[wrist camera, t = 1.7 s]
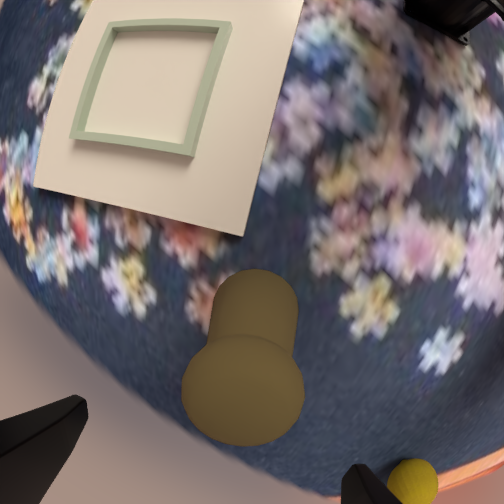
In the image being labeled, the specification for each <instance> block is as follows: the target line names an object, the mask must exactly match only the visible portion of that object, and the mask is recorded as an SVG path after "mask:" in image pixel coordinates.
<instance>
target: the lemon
mask: <svg viewBox="0 0 504 504" xmlns="http://www.w3.org/2000/svg"><path fill="white" fill-rule="evenodd" d="M387 488H388V489H389V490H390V491H391V492H392V493H393V494H394V495H395V496H396V497H397V498H398V499H399V500H400V501H401V502H402V503H403V504H430V503H431V502H432V501H433V500H434V498H435V496H436V494H437V492H438V478H437V474H436V472H435V470H434V468H433V467H432V466H431V465H430V464H429V463H428V462H427V461H425V460H422V459H415V458H414V459H409V460H406V459H404V460H402V461H401V462H400V464H399V465H397V466H396V467H395V468H394V469H393V471H392V472H391V474H390V476H389V478H388V482H387Z"/></svg>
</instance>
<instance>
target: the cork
mask: <svg viewBox="0 0 504 504" xmlns="http://www.w3.org/2000/svg"><path fill="white" fill-rule="evenodd" d="M298 312H299V309H298V301H297V297H296V295H295V293H294V291H293V289H292V287H291V286H290V285H289V284H288V283H287V282H286V281H285V280H284V279H283V278H282V277H280V276H278V275H276V274H274V273H272V272H270V271H267V270H260V269H250V270H243V271H240V272H238V273H236V274H234V275H232V276H230V277H228V278H227V279H226V280H225V281H224V282H223V283H222V284H221V285H220V286H219V288H218V290H217V293H216V295H215V297H214V301H213V307H212V313H211V319H210V326H209V332H208V338H207V345H206V346H205V347H203V348H202V349H201V350H200V351H199V352H198V353H197V354H196V355H195V356H193V357H192V359H191V361H190V363H189V365H188V367H187V369H186V371H185V373H184V375H183V377H182V397H181V400H182V403H183V405H184V408H185V410H186V413H187V415H188V417H189V419H190V420H191V422H192V423H193V424H194V425H195V426H196V427H197V428H198V430H200V431H201V432H202V433H204V434H205V435H207V436H209V437H210V438H212V439H214V440H217V441H219V442H222V443H225V444H229V445H236V446H258V445H261V444H265V443H268V442H272V441H274V440H275V439H277V438H279V437H281V436H282V435H284V434H285V433H286V432H287V431H288V430H289V429H290V428H291V427H292V425H293V424H294V423H295V422H296V421H297V419H298V418H299V415H300V412H301V409H302V406H303V403H304V399H305V392H304V384H303V378H302V373H301V372H300V370H299V368H298V366H297V365H296V363H295V361H294V360H293V358H292V355H293V348H294V341H295V334H296V327H297V319H298Z"/></svg>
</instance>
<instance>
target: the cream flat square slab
mask: <svg viewBox="0 0 504 504" xmlns="http://www.w3.org/2000/svg"><path fill="white" fill-rule="evenodd" d="M303 4H304V0H93V2H92V3H91V5H90V7H89V9H88V11H87V13H86V15H85V17H84V19H83V21H82V23H81V25H80V27H79V29H78V32H77V34H76V36H75V38H74V41H73V43H72V45H71V48H70V50H69V52H68V55H67V57H66V60H65V63H64V65H63V68H62V71H61V73H60V76H59V79H58V82H57V85H56V88H55V91H54V94H53V98H52V101H51V104H50V108H49V111H48V115H47V119H46V123H45V127H44V131H43V135H42V140H41V144H40V149H39V154H38V159H37V165H36V171H35V177H34V184H33V186H34V187H38V188H43V189H47V190H51V191H56V192H60V193H65V194H69V195H73V196H78V197H82V198H86V199H90V200H95V201H99V202H103V203H107V204H112V205H116V206H120V207H124V208H128V209H133V210H137V211H141V212H145V213H149V214H153V215H157V216H161V217H166V218H170V219H174V220H178V221H182V222H186V223H190V224H194V225H198V226H202V227H206V228H210V229H214V230H218V231H222V232H226V233H230V234H234V235H238V236H242V237H243V236H244V233H245V229H246V225H247V221H248V217H249V213H250V209H251V205H252V201H253V197H254V193H255V189H256V185H257V181H258V177H259V173H260V169H261V165H262V161H263V157H264V153H265V149H266V145H267V141H268V137H269V133H270V129H271V126H272V122H273V118H274V114H275V110H276V106H277V102H278V98H279V95H280V91H281V87H282V83H283V79H284V75H285V72H286V68H287V64H288V60H289V57H290V53H291V49H292V45H293V42H294V38H295V34H296V30H297V27H298V23H299V19H300V16H301V12H302V8H303Z"/></svg>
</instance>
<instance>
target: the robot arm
mask: <svg viewBox="0 0 504 504" xmlns="http://www.w3.org/2000/svg"><path fill="white" fill-rule="evenodd" d="M403 10H404V12H405V13H406V14H407V15H409V16H411V17H413V18H415V19H417V20H419V21H421V22H423V23H425V24H427V25H429V26H431V27H433V28H435V29H437V30H439V31H441V32H442V33H444V34H446V35H448V36H449V37H451V38H453V39H455V40H456V41H458V42H460V43H461V44H463V45H465V46H467V45H468V44H470V35H469V31H470V30H471V29H472V28H474V27H475V26H476V25H478V24H479V23H481V22H482V21H483V20H485V19H486V18H488V17H489V16H490V15H492V14H493V13H495V12H496V13H497V14H498V15H499V16H500V17H501V18H502V20H503V21H504V0H404V6H403ZM409 10H410V11H411V12H410V11H409ZM87 420H88V409H87V402H86V400H85V399H84V398H82V397H80V396H78V395H72V396H69V397H67V398H64V399H61V400H59V401H56V402H53V403H50V404H48V405H45V406H42V407H39V408H36V409H34V410H31V411H28V412H25V413H22V414H19V415H16V416H13V417H10V418H7V419H4V420H1V421H0V504H39V503H40V502H41V500H42V498H43V497H44V495H45V494H46V492H47V490H48V489H49V487H50V485H51V484H52V482H53V481H54V479H55V478H56V476H57V475H58V473H59V471H60V470H61V468H62V467H63V465H64V463H65V462H66V461H67V459H68V458H69V456H70V454H71V453H72V451H73V449H74V447H75V445H76V443H77V441H78V439H79V436H80V434H81V432H82V430H83V428H84V426H85V424H86V422H87ZM341 504H403V503H402V502H401V501H400V500H399V499H398V498H397V497H396V496H395V495H394V494H393V493H392V492H391V491H390V490H389V489H388V488H387V487H386V486H385V485H384V484H383V483H382V482H381V481H380V479H379V478H378V477H377V476H376V475H375V474H374V473H373V472H372V471H371V470H370V469H369V468H368V467H367V466H366V465H365V464H354V465H352V466H351V467H350V469H349V470H348V471H347V472H346V474H345V475H344V476H343V478H342V483H341Z"/></svg>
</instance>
